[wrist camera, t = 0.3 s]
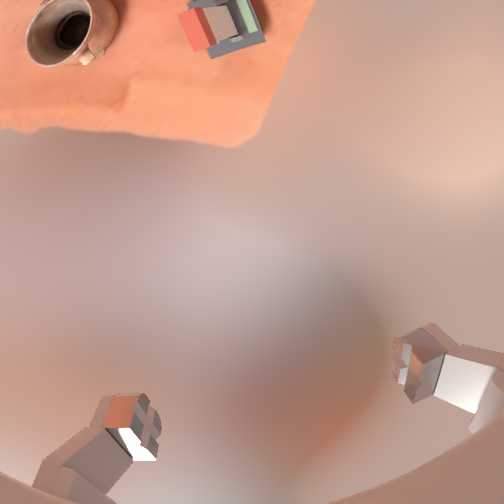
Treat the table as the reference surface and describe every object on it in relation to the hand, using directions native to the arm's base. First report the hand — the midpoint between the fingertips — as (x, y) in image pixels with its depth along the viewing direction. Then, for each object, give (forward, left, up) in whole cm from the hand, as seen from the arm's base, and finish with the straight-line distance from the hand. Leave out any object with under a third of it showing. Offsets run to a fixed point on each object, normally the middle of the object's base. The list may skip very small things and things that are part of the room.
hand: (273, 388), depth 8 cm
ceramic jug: (-27, -7, -54) cm, 61 cm away
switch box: (-7, +11, -54) cm, 55 cm away
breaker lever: (-7, +11, -48) cm, 49 cm away
